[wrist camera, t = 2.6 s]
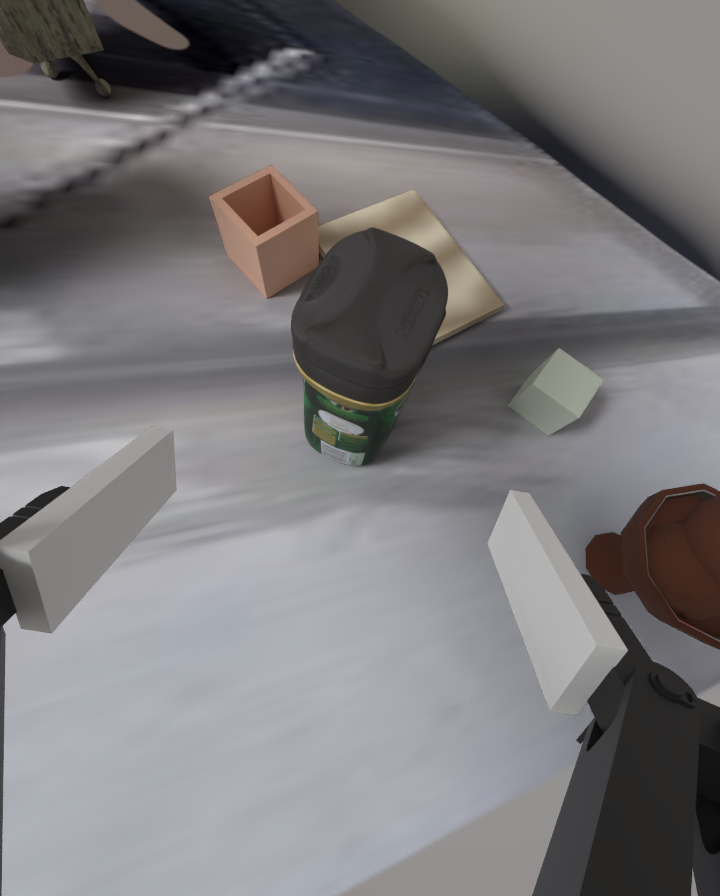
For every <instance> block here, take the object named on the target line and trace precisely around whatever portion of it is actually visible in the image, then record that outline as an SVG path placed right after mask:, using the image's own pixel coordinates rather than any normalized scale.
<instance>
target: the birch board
mask: <svg viewBox="0 0 720 896" xmlns="http://www.w3.org/2000/svg"><path fill="white" fill-rule="evenodd" d="M371 227H374V228H377V229H380V230H383V231H386V232H389V233H391V234H394V235H397V236H399V237H402V238H404V239H406V240H408V241H411V242H413V243H415V244H417V245H419V246H421V247H423V248H425V249H426V250H428V251H430V252H432V253H433V254H434V255H435V257H436V259H437V261H438V263H439V264H440V266H441V268H442V270H443V272H444V274H445V277H446V280H447V285H448V300H447V305H446V316H445V318H444V321H443V323H442V325H441V327H440V329H439V331H438V333H437V336H436V338H435V340H434V343H433V345H434V344H436V343H438V342H440V341H442V340H444V339H446V338H448V337H450V336H452V335H454V334H456V333H458V332H460V331H462V330H464V329H466V328H468V327H470V326H472V325H474V324H476V323H478V322H480V321H482V320H484V319H486V318H488V317H490V316H492V315H494V314H496V313H498V312H499V311H500V310H501V309H502V307H503V306H504V304H503V302H502V301H501V300H500V299H499V297H498V296H497V295H496V293H495V292H494V291H493V290H492V288H491V287H490V286H489V285H488V283H487V282H486V281H485V279H484V278H483V277H482V276H481V274H480V273H479V272H478V271H477V269H476V268H475V267H474V265H473V264H472V263H471V262H470V260H469V259H468V258H467V256H466V255H465V254H464V253H463V251H462V250H461V249H460V248H459V246H458V245H457V244H456V242H455V241H454V240H453V239H452V237H451V236H450V235H449V234H448V232H447V231H446V230H445V228H444V227H443V226H442V225H441V223H440V222H439V221H438V220H437V218H436V217H435V216H434V214H433V213H432V212H431V211H430V209H429V208H428V207H427V206H426V204H425V203H424V202H423V200H422V199H421V198H420V197H419V195H418V194H417V193H416V192H415V190H411V191H408V192H406V193H403V194H401V195H398V196H395V197H393V198H390V199H388V200H385V201H382V202H380V203H377V204H374V205H372V206H369V207H367V208H364V209H361V210H359V211H356V212H354V213H351V214H348V215H346V216H343V217H340V218H338V219H335V220H333V221H330V222H327V223H325V224H322V225H320V226H318V244H319V253H320V255H321V256H322V258H324V257H325V255H326V253H327V252H328V251H329V250H330V249H331V248H332V247H333V246H334V245H335V244H336V243H337V242H339V241H340V240H341V239H343V238H345V237H347V236H349V235H351V234H353V233H356V232H360V231H363V230H367V229H368V228H371Z"/></svg>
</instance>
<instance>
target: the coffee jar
mask: <svg viewBox="0 0 720 896" xmlns="http://www.w3.org/2000/svg"><path fill="white" fill-rule="evenodd" d="M447 300H448V285H447V280H446V277H445V274H444V272H443V270H442V268H441V266H440V264H439V263H438V261H437V259H436V257H435V255H434V254H433V253H432V252H430V251H428V250H426V249H425V248H423V247H421V246H419V245H417V244H415V243H413V242H411V241H408V240H406V239H404V238H402V237H399V236H397V235H394V234H391V233H389V232H386V231H383V230H380V229H377V228H374V227H371V228H368V229H367V230H363V231H360V232H356V233H353V234H351V235H349V236H347V237H345V238H343V239H341V240H340V241H339V242H337V243H336V244H335V245H334V246H333V247H332V248H331V249H330V250H329V251H328V252H327V253H326V255H325V257H324V258H323V259H322V261H321V262H320V264H319V265H318V267H317V268H316V269H315V271H314V272H313V274H312V275H311V277H310V279H309V281H308V282H307V284H306V286H305V288H304V290H303V291H302V293H301V296H300V298H299V300H298V301H297V303H296V305H295V307H294V310H293V314H292V320H291V331H292V336H293V355H294V359H295V363H296V365H297V368H298V369H299V371H300V373H301V375H302V376H303V383H304V424H305V434H306V438H307V440H308V442H309V443H310V445H311V446H312V447H313V448H314V449H315V450H317V451H318V452H319V453H321V454H323V455H324V456H326V457H328V458H330V459H332V460H334V461H337V462H339V463H343V464H346V465H350V466H360V465H364V464H367V463H369V462H370V461H372V460H373V459H374V458H375V457H376V456H377V455H378V453H379V451H380V450H381V448H382V447H383V445H384V443H385V442H386V440H387V438H388V436H389V434H390V432H391V430H392V428H393V426H394V424H395V421H396V419H397V417H398V415H399V413H400V411H401V409H402V407H403V405H404V403H405V401H406V399H407V397H408V395H409V393H410V390H411V388H412V386H413V384H414V382H415V380H416V378H417V376H418V374H419V372H420V370H421V368H422V366H423V364H424V363H425V361H426V359H427V356H428V354H429V351H430V349H431V347H432V345H433V343H434V340H435V338H436V336H437V333H438V331H439V329H440V327H441V325H442V323H443V321H444V318H445V316H446V305H447Z"/></svg>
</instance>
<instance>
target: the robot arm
mask: <svg viewBox="0 0 720 896" xmlns="http://www.w3.org/2000/svg"><path fill="white" fill-rule="evenodd" d="M175 491H176V471H175V452H174V434H173V429H167V428H162V427H156V426H152V427H151V428H150V429H148V430H147V431H146V432H144V433H143V434H142V435H140V436H139V437H137V438H136V439H135V440H133V441H132V442H131V443H129V444H128V445H127V446H125V447H124V448H123V449H121V450H120V451H119V452H117V453H116V454H115V455H113V456H112V457H111V458H109V459H108V460H107V461H105V462H104V463H103V464H101V465H100V466H99V467H97V468H96V469H95V470H93V471H92V472H91V473H89V474H88V475H87V476H85V477H84V478H83V479H81V480H80V481H79V482H77V483H76V484H75V485H73V486H72V487H71V488H70V487H65V486H60V487H58V488H55V489H53V490H50V491H48V492H45V493H43V494H41V495H39V496H38V497H37V498H35V499H34V500H32V501H31V502H29V503H28V504H27V505H26V506H25V508H23V507H22V508H21V509H20V510H18V511H17V512H15V513H14V514H13V516H12V517H8V518H7V519H5V520H4V521H2V522H1V523H0V896H1V886H2V823H3V760H4V697H5V632H4V629H3V625H4V624H5V623H6V622H7V621H8V620H9V619H10V618H11V617H12V616H13V615H14V614H15V613H16V615H17V618H18V621H19V624H20V627H21V629H27V630H34V631H40V632H47V633H52V632H53V631H54V630H55V629H56V628H57V627H58V626H59V624H60V623H61V622H62V621H63V620H64V619H65V618H66V616H67V615H68V614H69V613H70V612H71V611H72V609H73V608H74V607H75V606H76V605H77V604H78V603H79V601H80V600H81V599H82V598H83V597H84V596H85V595H86V593H87V592H88V591H89V590H90V589H91V588H92V586H93V585H94V584H95V583H96V582H97V581H98V580H99V578H100V577H101V576H102V575H103V574H104V573H105V572H106V570H107V569H108V568H109V567H110V566H111V565H112V563H113V562H114V561H115V560H116V559H117V558H118V557H119V555H120V554H121V553H122V552H123V551H124V550H125V549H126V547H127V546H128V545H129V544H130V543H131V542H132V540H133V539H134V538H135V537H136V536H137V535H138V534H139V532H140V531H141V530H142V529H143V528H144V527H145V526H146V524H147V523H148V522H149V521H150V520H151V519H152V517H153V516H154V515H155V514H156V513H157V512H158V511H159V509H160V508H161V507H162V506H163V505H164V504H165V503H166V501H167V500H168V499H169V498H170V497H171V496H172V494H173V493H174V492H175ZM487 544H488V547H489V549H490V552H491V555H492V558H493V560H494V563H495V566H496V568H497V571H498V574H499V576H500V579H501V582H502V584H503V587H504V590H505V592H506V595H507V598H508V600H509V603H510V606H511V609H512V611H513V614H514V617H515V619H516V622H517V625H518V627H519V630H520V633H521V635H522V638H523V641H524V643H525V646H526V649H527V651H528V654H529V657H530V660H531V662H532V665H533V668H534V670H535V673H536V676H537V678H538V681H539V684H540V686H541V689H542V692H543V694H544V697H545V700H546V702H547V705H548V708H549V710H550V711H552V712H558V713H565V714H571V715H578V714H579V713H580V711H581V710H582V709H583V708H584V706H585V705H586V704H587V702H588V704H589V706H590V708H591V710H592V712H593V714H594V716H595V718H594V719H593V720H592V722H591V723H590V724H589V725H588V726H587V728H586V729H585V730H584V731H583V733H582V734H581V735H580V736H579V737H578V739H577V740H576V741H578V742H579V743H580V744H581V743H582V742H583V744H582V747H581V750H580V753H579V756H578V759H577V762H576V765H575V768H574V772H573V774H572V778H571V780H570V783H569V787H568V789H567V792H566V796H565V798H564V801H563V805H562V807H561V811H560V813H559V816H558V820H557V822H556V825H555V829H554V832H553V835H552V838H551V841H550V844H549V847H548V850H547V853H546V856H545V859H544V862H543V865H542V868H541V871H540V874H539V877H538V880H537V883H536V886H535V889H534V892H533V895H532V896H691V884H692V866H693V872H694V877H695V882H696V887H697V893H698V896H720V707H718V706H715V705H713V704H710V703H708V702H706V701H704V700H701V699H699V698H697V696H696V695H695V693H694V692H693V690H692V689H691V688H690V687H689V685H688V684H687V683H686V682H685V681H684V680H683V679H682V678H681V677H679V676H678V675H677V674H675V673H674V672H673V671H671V670H670V669H668V668H666V667H664V666H662V665H660V664H658V663H655V662H653V661H652V660H651V658H650V657H649V655H648V654H647V652H646V651H645V649H644V648H643V646H642V645H641V643H640V642H639V640H638V639H637V637H636V636H635V634H634V633H633V632H632V630H631V629H630V627H629V626H628V624H627V623H626V621H625V620H624V618H621V614H620V612H619V611H618V609H617V608H616V606H613V602H612V600H611V599H610V597H609V596H608V594H607V593H606V591H605V590H604V588H602V587H601V586H600V585H599V584H598V583H597V582H596V581H595V580H594V579H593V578H592V577H591V576H590V575H585V574H580V573H579V571H578V570H577V568H576V567H575V565H574V563H573V562H572V560H571V559H570V557H569V555H568V554H567V552H566V551H565V549H564V548H563V546H562V544H561V543H560V541H559V540H558V538H557V536H556V535H555V533H554V532H553V530H552V528H551V527H550V525H549V524H548V522H547V520H546V519H545V517H544V516H543V514H542V513H541V511H540V509H539V508H538V506H537V505H536V503H535V501H534V500H533V498H532V497H531V495H530V493H526V492H520V491H515V490H510V492H509V494H508V496H507V499H506V501H505V503H504V506H503V508H502V510H501V513H500V515H499V517H498V520H497V522H496V524H495V527H494V529H493V531H492V534H491V536H490V538H489V541H488V543H487Z"/></svg>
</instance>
